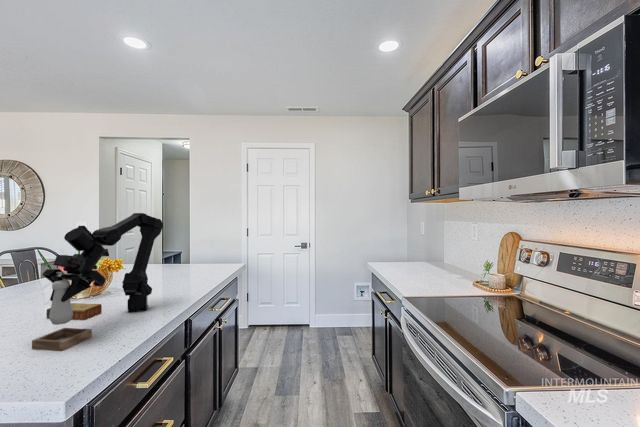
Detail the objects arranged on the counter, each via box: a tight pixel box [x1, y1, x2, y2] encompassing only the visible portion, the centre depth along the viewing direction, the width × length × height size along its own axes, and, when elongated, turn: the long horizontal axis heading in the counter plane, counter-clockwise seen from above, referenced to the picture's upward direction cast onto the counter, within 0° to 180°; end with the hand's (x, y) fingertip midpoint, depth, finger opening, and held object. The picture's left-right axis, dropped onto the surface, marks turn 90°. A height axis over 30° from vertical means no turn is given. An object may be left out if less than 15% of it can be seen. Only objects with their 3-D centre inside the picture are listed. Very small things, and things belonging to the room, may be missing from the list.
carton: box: [46, 302, 103, 321], centre depth 122 cm, size 8×16×4 cm, turn 84°
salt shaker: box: [48, 280, 73, 326], centre depth 98 cm, size 6×6×13 cm
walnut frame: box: [31, 327, 93, 352], centre depth 97 cm, size 10×10×2 cm
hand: (56, 301), depth 96 cm, fingers closed on salt shaker, 3 cm apart
